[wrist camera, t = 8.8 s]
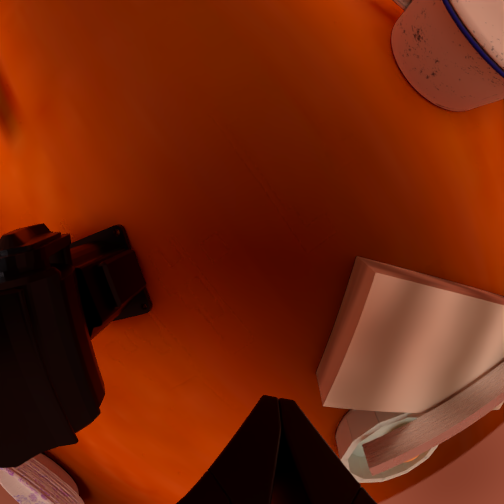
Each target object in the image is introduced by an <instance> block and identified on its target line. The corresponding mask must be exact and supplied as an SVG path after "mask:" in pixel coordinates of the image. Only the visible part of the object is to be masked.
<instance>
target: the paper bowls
mask: <svg viewBox="0 0 504 504" xmlns="http://www.w3.org/2000/svg"><path fill="white" fill-rule="evenodd" d="M0 484H1V485H2V486H3V488H4V489H5V490H6V491H7V492H8V493H9V494H10V495H11V496H12V497H13V498H14V499H15V500H16V501H18V502H19V503H20V504H84V502H83V500H82V499H81V497H80V496H79V493H78V487H77V485H76V483H75V482H74V480H73V479H72V478H71V477H70V475H69V474H68V473H67V472H66V471H65V470H64V469H62V468H61V467H60V466H59V465H58V464H56V463H55V462H54V461H53V460H51V459H50V458H48V457H47V456H45V455H43V454H42V453H40V454H38V455H36V456H35V457H33V458H31V459H30V460H28V461H27V462H25V463H23V464H22V465H20V466H18V467H11V468H0Z"/></svg>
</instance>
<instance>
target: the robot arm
mask: <svg viewBox="0 0 504 504" xmlns="http://www.w3.org/2000/svg"><path fill="white" fill-rule="evenodd" d="M117 229H118V230H119V231H120V234H119V235H117V233H116V230H117ZM145 285H146V282H145V280H144V277H143V274H142V272H141V269H140V266H139V263H138V260H137V258H136V255H135V252H134V251H133V250H132V249H131V246H130V243H129V240H128V237H127V234H126V231H125V229H124V227H123V226H122V225H115V226H112V227H110V228H107V229H105V230H102V231H100V232H97V233H95V234H93V235H90V236H88V237H85V238H83V239H81V240H78V241H76V242H74V243H71V239H70V234H62V235H61V232H55V233H53V232H51V231H50V230H49V229H48V228H47V227H46V225H45V224H44V223H43V224H36V225H32V226H28V227H23V228H19V229H16V230H13V231H11V232H9V233H7V234H4V235H2V237H1V239H0V468H11V467H18V466H20V465H22V464H23V463H25V462H27V461H28V460H30V459H31V458H33V457H35V456H36V455H38V454H40V453H42V452H44V451H47V450H50V449H53V448H56V447H58V446H65V445H71V444H76V443H77V442H78V438H77V436H76V434H75V433H77V432H78V431H80V430H82V429H83V428H85V427H86V426H88V425H89V424H91V423H92V422H93V421H94V420H95V419H96V418H97V417H98V415H99V414H100V409H99V407H100V405H101V403H102V400H103V398H104V395H105V389H104V382H103V379H102V376H101V373H100V370H99V367H98V364H97V360H96V357H95V354H94V350H93V347H92V343H91V340H92V339H93V338H94V337H95V336H96V335H97V334H98V333H99V332H101V331H102V330H103V329H104V328H105V327H106V326H107V325H108V324H109V323H110V322H112V321H115V320H120V319H124V318H128V317H132V316H137V315H141V314H145V313H148V312H149V311H150V310H151V309H152V303H151V300H150V298H149V295H148V293H147V290H146V288H145ZM143 304H146V306H147V308H145V307H144V306H143ZM360 487H361V485H360V484H359V482H358V481H357V480H356V479H355V478H354V476H353V475H352V474H351V473H350V471H349V470H348V469H347V468H346V467H345V465H344V464H343V463H342V462H341V460H340V459H339V458H338V457H337V455H336V454H335V453H334V452H333V450H332V449H331V448H330V447H329V445H328V444H327V443H326V441H325V440H324V439H323V438H322V436H321V435H320V434H319V432H318V431H317V430H316V429H315V427H314V426H313V425H312V423H311V422H310V421H309V419H308V418H307V417H306V416H305V414H304V413H303V412H302V410H301V409H300V408H299V406H298V405H297V404H296V402H295V401H293V400H289V399H283V398H280V399H278V398H277V397H272V396H267V395H263V396H262V397H261V398H260V400H259V401H258V403H257V404H256V406H255V407H254V408H253V410H252V411H251V413H250V414H249V416H248V417H247V418H246V420H245V421H244V423H243V424H242V425H241V427H240V428H239V429H238V431H237V432H236V434H235V435H234V436H233V438H232V439H231V440H230V442H229V443H228V444H227V446H226V447H225V448H224V450H223V451H222V452H221V454H220V455H219V456H218V457H217V459H216V460H215V461H214V463H213V464H212V465H211V466H210V468H209V469H208V471H206V472H205V474H204V475H203V476H202V477H201V479H200V480H199V481H198V482H197V483H196V484H195V485H194V487H193V488H192V489H191V490H190V491H189V492H188V493H187V494H186V495H185V496H184V497H183V498H182V499H181V500H180V501H179V502H177V503H176V504H377V503H376V502H375V501H374V500H373V499H372V498H371V496H370V495H369V494H368V493H367V492H366V490H365V489H364V488H363V487H361V488H360Z"/></svg>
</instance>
